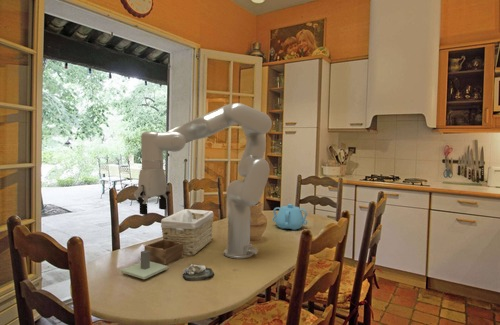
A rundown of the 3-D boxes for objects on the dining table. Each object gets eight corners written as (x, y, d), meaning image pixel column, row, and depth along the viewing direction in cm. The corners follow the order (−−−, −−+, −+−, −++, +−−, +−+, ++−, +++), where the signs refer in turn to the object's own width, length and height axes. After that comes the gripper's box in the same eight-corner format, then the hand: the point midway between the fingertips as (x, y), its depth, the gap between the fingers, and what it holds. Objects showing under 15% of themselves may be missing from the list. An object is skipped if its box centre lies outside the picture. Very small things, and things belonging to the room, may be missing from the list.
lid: (168, 271, 117) (168, 250, 117) (144, 282, 107) (144, 259, 107) (145, 265, 123) (146, 244, 122) (121, 275, 113) (121, 253, 112)
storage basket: (194, 257, 132) (194, 222, 131) (158, 253, 136) (159, 219, 135) (214, 240, 155) (215, 210, 154) (183, 237, 159) (184, 208, 158)
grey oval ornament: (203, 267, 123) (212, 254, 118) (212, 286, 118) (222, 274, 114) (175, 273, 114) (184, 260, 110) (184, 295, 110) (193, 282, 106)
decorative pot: (282, 232, 172) (283, 207, 171) (270, 225, 187) (271, 202, 186) (309, 230, 178) (310, 206, 177) (295, 223, 193) (295, 201, 192)
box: (183, 257, 131) (183, 243, 130) (164, 266, 122) (164, 250, 121) (163, 253, 136) (163, 239, 136) (144, 260, 127) (144, 245, 126)
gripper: (161, 163, 127) (162, 206, 128) (126, 166, 111) (127, 215, 113) (176, 164, 123) (177, 208, 124) (142, 167, 108) (143, 217, 109)
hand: (153, 211), depth 118 cm, fingers open, 9 cm apart
